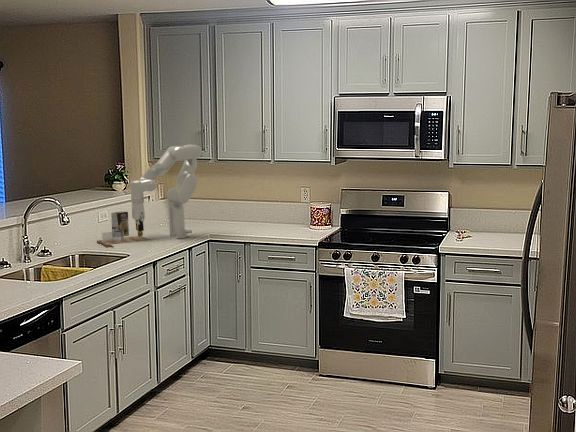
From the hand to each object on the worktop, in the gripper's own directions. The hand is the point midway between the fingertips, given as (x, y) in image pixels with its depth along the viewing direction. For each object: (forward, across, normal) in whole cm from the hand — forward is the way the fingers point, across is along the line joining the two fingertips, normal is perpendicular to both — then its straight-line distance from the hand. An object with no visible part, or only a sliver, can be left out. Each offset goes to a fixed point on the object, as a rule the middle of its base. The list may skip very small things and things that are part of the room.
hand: (140, 230), depth 445 cm
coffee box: (+8, -25, -4) cm, 26 cm away
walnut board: (+7, -4, -9) cm, 12 cm away
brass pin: (+3, 0, 0) cm, 3 cm away
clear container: (+5, -7, -16) cm, 18 cm away
